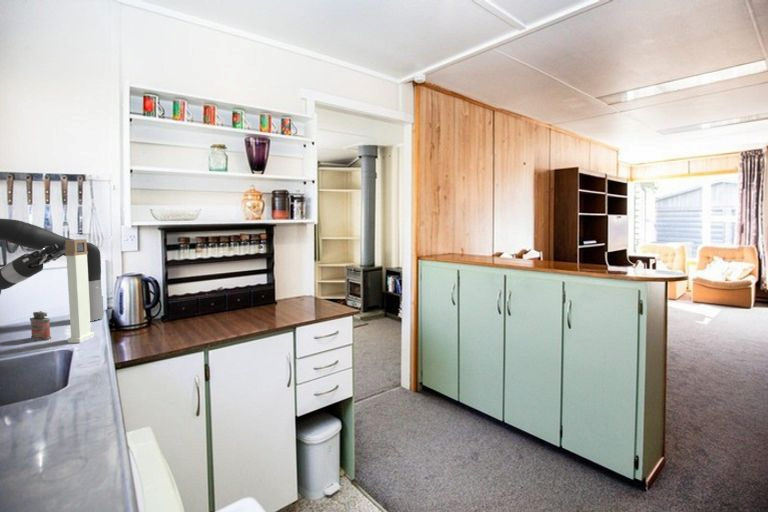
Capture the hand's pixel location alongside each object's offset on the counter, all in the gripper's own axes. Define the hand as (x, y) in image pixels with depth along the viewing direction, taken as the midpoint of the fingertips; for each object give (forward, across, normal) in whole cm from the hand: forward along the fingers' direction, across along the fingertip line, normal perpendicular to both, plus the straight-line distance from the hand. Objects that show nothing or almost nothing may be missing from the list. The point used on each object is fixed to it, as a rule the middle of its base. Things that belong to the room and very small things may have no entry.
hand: (63, 245), depth 144 cm
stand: (-13, 0, +32) cm, 34 cm away
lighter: (-26, +1, +25) cm, 36 cm away
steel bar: (-1, 0, +2) cm, 3 cm away
